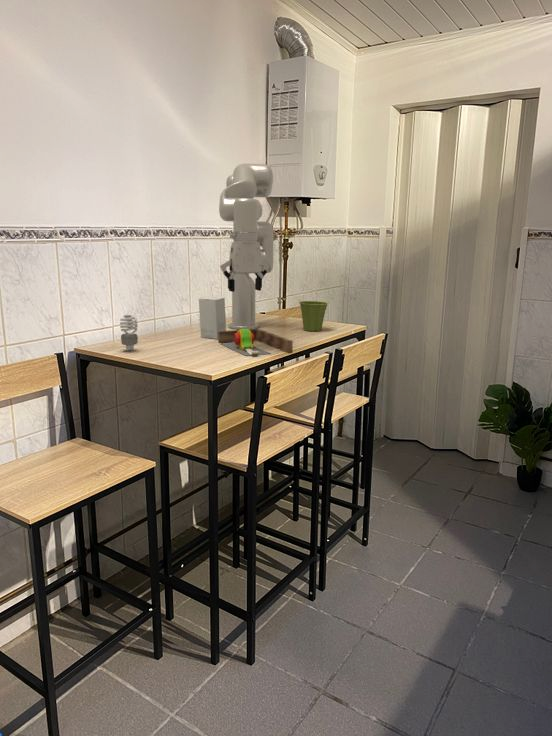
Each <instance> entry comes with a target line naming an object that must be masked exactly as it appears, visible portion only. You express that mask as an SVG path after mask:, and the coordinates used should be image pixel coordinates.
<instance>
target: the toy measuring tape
mask: <svg viewBox="0 0 552 736" xmlns="http://www.w3.org/2000/svg"><path fill="white" fill-rule="evenodd" d="M237 330H238V331H237V333H235V334H234V342H233V343H235V345H238V347H239V348H240V349H241V350H242V351H243V350H246V351H247V352H248V353H249V354H250V355H252V356H251V357H253V356H254V357H255V356H259V355H258V354H259V352H258V351H252V350H253V346H254V344H255V340H254V334H253V333H251V331H250V330H249V329H237Z"/></svg>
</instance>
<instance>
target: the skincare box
mask: <svg viewBox="0 0 552 736" xmlns="http://www.w3.org/2000/svg"><path fill="white" fill-rule="evenodd" d="M225 301H226V300H225V297H218V296H217V297H216V296H215V297H214V296H213V297H212V296H206V297H201V298H200V297H199V298H198V310H199V325H200V327H199V328H200V330H199V331H200V338H203V339H204V338H205V339H214V340H218V331H227V320H226V319H227V317H226V316H227V315H226V302H225Z"/></svg>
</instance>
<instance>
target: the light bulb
mask: <svg viewBox="0 0 552 736" xmlns="http://www.w3.org/2000/svg"><path fill="white" fill-rule="evenodd" d="M119 321H120V322H119V324H120V326H119V328H121V329H120V331H121V332H124V333H123V334H121V335H120V341H121V345H124V346H125V349H126V350H127V351H129V352H131V351H132V350H133V349H135V346H136V345H137V344H138V342H139V341H138V340H139V339H138V338H139V337H138V334H137V333H136V332H137V331H138V327H139V326H138V318H137V317H135V316H133V315H132V314H124V315H123V318H120V319H119ZM128 331H132V332H131V333H129V332H128Z"/></svg>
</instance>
